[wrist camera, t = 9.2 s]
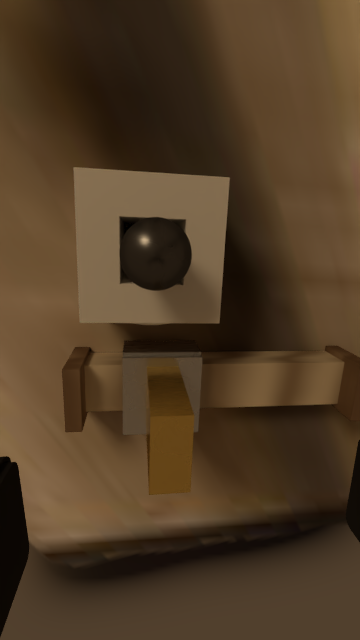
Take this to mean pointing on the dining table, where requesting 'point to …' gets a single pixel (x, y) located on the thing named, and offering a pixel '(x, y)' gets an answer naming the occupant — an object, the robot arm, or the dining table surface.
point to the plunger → (155, 253)
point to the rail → (224, 381)
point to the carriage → (163, 407)
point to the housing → (132, 206)
